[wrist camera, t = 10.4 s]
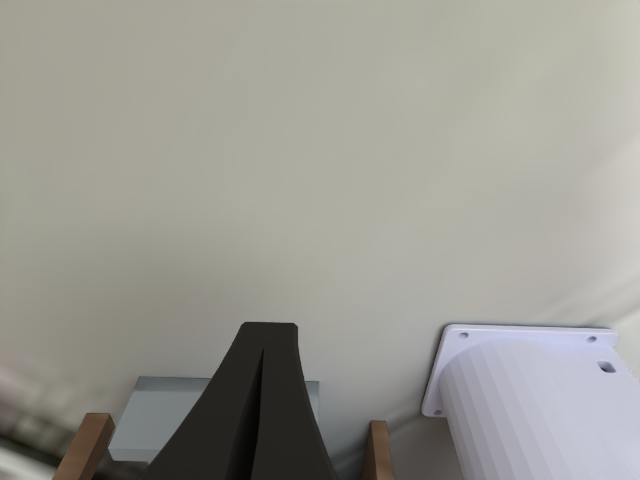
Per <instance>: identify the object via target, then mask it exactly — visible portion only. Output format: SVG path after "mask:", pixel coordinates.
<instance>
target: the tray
mask: <svg viewBox="0 0 640 480" xmlns="http://www.w3.org/2000/svg"><path fill="white" fill-rule="evenodd" d="M210 380H211V379H202V378H167V377H139V379H138V381H137V384H136V386H135V388H134V391H133V393H132V395H131V397H130V400H129V402H128V404H127V406H126V409H125V411H124V413H123V415H122V418H121V420H120V422H119V424H118V427H117V429H116V431H115V433H114V436H113V438H112V440H111V443H110V445H109V447H108V450H109V452H110V454H111V456H112V458H113V461H147V462H148V464H150V463H151V462H152V461H153V459H154V458H155V457H156V456H157V454H158V453H159V452H160V451H161V449H162V448H163V447H164V446H165V444H166V443H167V442H168V441H169V439H170V438H171V437H172V435H173V434H174V433H175V431H176V430H177V429H178V427H179V426H180V424H181V423H182V422H183V420H184V419H185V417H186V416H187V415H188V413H189V412H190V410H191V409H192V408H193V406H194V405H195V403H196V402H197V400H198V399H199V398H200V396H201V395H202V393H203V391H204V390H205V388H206V387H207V385H208V384H209V382H210ZM305 384H306V388H307V392H308V395H309V399H310V403H311V406H312V410H313V413H314V416H315V419H316V422H317V425H318V388H319V382H307V381H305Z"/></svg>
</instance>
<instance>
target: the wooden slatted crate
mask: <svg viewBox="0 0 640 480" xmlns="http://www.w3.org/2000/svg"><path fill="white" fill-rule="evenodd" d="M114 428H115V426H114V423H113V421H112V419H111V416H110V414H94V413H87V414H86V416H85V418H84V420H83V422H82V423H81V425H80V427H79V429H78V431H77V433H76V435H75V437H74V439H73V441H72V443H71V444H70V446H69V448H68V450H67V452H66V454H65V456H64V458H63V460H62V462H61V464H60V465H59V467H58V469H57V471H56V473H55V475H54V477H53V479H52V480H91V479H92V477H93V475H94V472H95V470H96V468H97V466H98V464H99V461H100V459H101V457H102V455H103V452H104V450H105V448H106V446H107V443H108V441H109V439H110V437H111V434H112V432H113V430H114ZM361 480H394V476H393V468H392V461H391V454H390V447H389V439H388V432H387V425H386V421H371V425H370V430H369V436H368V441H367V447H366V452H365V458H364V463H363V469H362V474H361Z"/></svg>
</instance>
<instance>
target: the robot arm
mask: <svg viewBox="0 0 640 480" xmlns="http://www.w3.org/2000/svg"><path fill="white" fill-rule="evenodd" d="M464 332H465V333H464ZM461 333H463V334H461ZM618 339H619V335H618V334H617V333H616V331H614V330H613V329H594V328H561V327H528V326H495V325H461V324H452V325H449V326H447V327H446V328H445V329H444V331H443V335H442V338H441V341H440V345H439V348H438V352H437V355H436V359H435V362H434V366H433V369H432V373H431V376H430V380H429V383H428V386H427V390H426V393H425V397H424V400H423V404H422V407H421V409H422V414H423V415H425V416H427V417H447V420H448V424H449V428H450V431H451V435H452V439H453V442H454V446H455V450H456V454H457V457H458V461H459V465H460V468H461V472H462V476H463V479H464V480H640V382H639V381H638V380H637V378H636V377H635V376H634V374H633V373H632V372H631V370H630V369H629V368H628V366H627V365H626V364H625V362H624V361H623V360H622V358H621V357H620V356H619V354H618V353H617V352H616V350H615V349H614V348H613V347H614V346H615V344H616V343H617V341H618ZM137 480H338V479H337V477H336V474H335V472H334V469H333V467H332V464H331V461H330V459H329V456H328V454H327V451H326V448H325V446H324V443H323V440H322V437H321V434H320V431H319V428H318V425H317V422H316V419H315V416H314V413H313V410H312V406H311V403H310V399H309V395H308V392H307V388H306V384H305V380H304V376H303V372H302V367H301V361H300V356H299V348H298V326H297V325H295V324H294V323H275V322H245V323H243V324H242V325H241V327H240V329H239V331H238V333H237V335H236V337H235V339H234V341H233V343H232V345H231V347H230V349H229V350H228V352H227V354H226V356H225V357H224V359H223V361H222V363H221V364H220V366H219V368H218V369H217V371H216V373H215V374H214V376H213V377H212V379H211V380H210V382H209V384H208V385H207V387H206V388H205V390H204V391H203V393H202V395H201V396H200V398H199V399H198V400H197V402H196V403H195V405H194V406H193V408H192V409H191V410H190V412H189V413H188V415H187V416H186V417H185V419H184V420H183V422H182V423H181V424H180V426H179V427H178V429H177V430H176V431H175V433H174V434H173V435H172V437H171V438H170V439H169V441H168V442H167V443H166V444H165V446H164V447H163V448H162V449H161V451H160V452H159V453H158V454H157V456H156V457H155V458H154V459H153V461H152V462H151V463H150V464H149V465H148V467H147V468H146V469H145V470H144V472H143V473H142V474H141V475H140V476H139V477H138V479H137Z"/></svg>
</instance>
